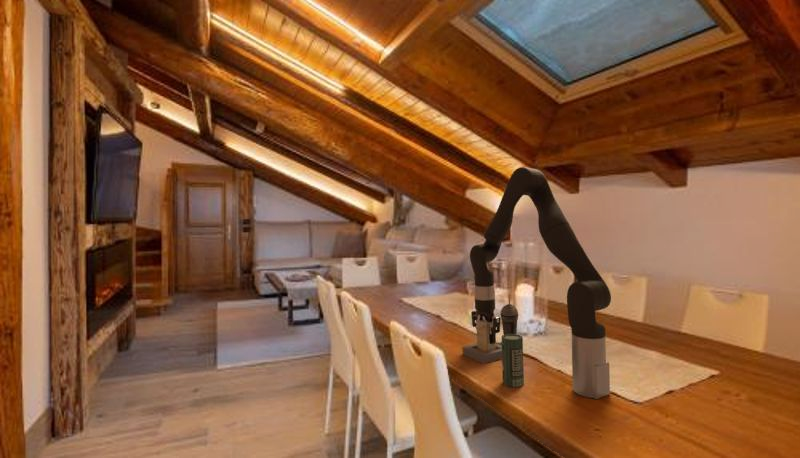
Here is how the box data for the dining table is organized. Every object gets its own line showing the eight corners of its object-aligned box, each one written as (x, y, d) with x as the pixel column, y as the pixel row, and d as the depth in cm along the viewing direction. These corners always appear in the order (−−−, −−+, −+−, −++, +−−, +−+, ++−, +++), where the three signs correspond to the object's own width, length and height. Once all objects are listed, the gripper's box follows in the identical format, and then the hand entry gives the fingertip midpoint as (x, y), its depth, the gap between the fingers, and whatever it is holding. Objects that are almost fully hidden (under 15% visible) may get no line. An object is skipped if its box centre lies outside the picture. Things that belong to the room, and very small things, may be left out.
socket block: (510, 356, 157) (510, 348, 157) (483, 363, 151) (483, 355, 151) (488, 347, 168) (488, 340, 168) (462, 354, 161) (462, 346, 161)
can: (515, 378, 137) (514, 332, 137) (527, 385, 132) (526, 337, 131) (499, 381, 135) (498, 335, 135) (511, 389, 130) (509, 340, 129)
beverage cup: (517, 339, 177) (516, 291, 176) (520, 345, 169) (519, 295, 168) (499, 339, 177) (498, 292, 176) (502, 345, 170) (500, 295, 169)
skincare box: (476, 350, 161) (475, 319, 160) (486, 348, 163) (485, 317, 162) (487, 355, 155) (485, 322, 155) (496, 353, 157) (495, 321, 157)
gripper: (505, 298, 154) (507, 344, 155) (479, 292, 166) (481, 334, 167) (490, 301, 150) (491, 348, 151) (464, 295, 163) (466, 338, 163)
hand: (486, 341), depth 159 cm, fingers closed on skincare box, 6 cm apart
